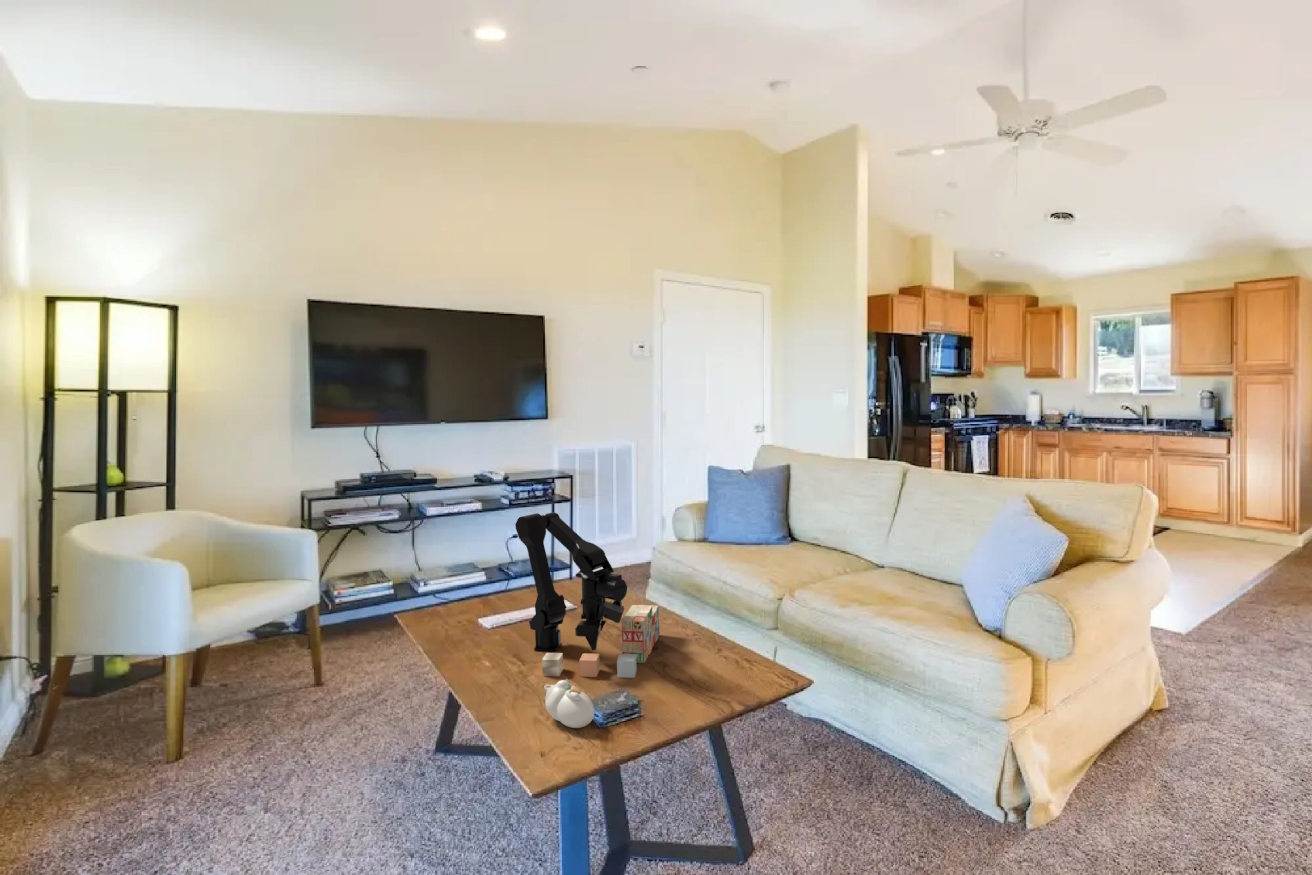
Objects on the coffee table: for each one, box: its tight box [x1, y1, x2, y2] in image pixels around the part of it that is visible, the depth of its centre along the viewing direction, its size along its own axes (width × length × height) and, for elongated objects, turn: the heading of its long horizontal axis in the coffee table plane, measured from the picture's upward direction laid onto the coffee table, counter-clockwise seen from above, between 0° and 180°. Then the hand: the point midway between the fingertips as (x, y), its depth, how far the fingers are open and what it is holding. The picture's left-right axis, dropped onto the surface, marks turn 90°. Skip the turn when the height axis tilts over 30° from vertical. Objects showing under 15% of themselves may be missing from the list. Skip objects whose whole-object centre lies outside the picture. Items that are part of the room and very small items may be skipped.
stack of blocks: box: [621, 604, 661, 664], centre depth 192 cm, size 21×6×12 cm, turn 168°
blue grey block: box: [616, 653, 638, 679], centre depth 175 cm, size 4×4×4 cm
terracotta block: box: [578, 652, 601, 678], centre depth 176 cm, size 4×4×4 cm
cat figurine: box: [543, 678, 595, 729], centre depth 151 cm, size 10×8×15 cm
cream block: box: [541, 652, 564, 677], centre depth 177 cm, size 4×4×4 cm
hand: (594, 649), depth 183 cm, fingers closed
